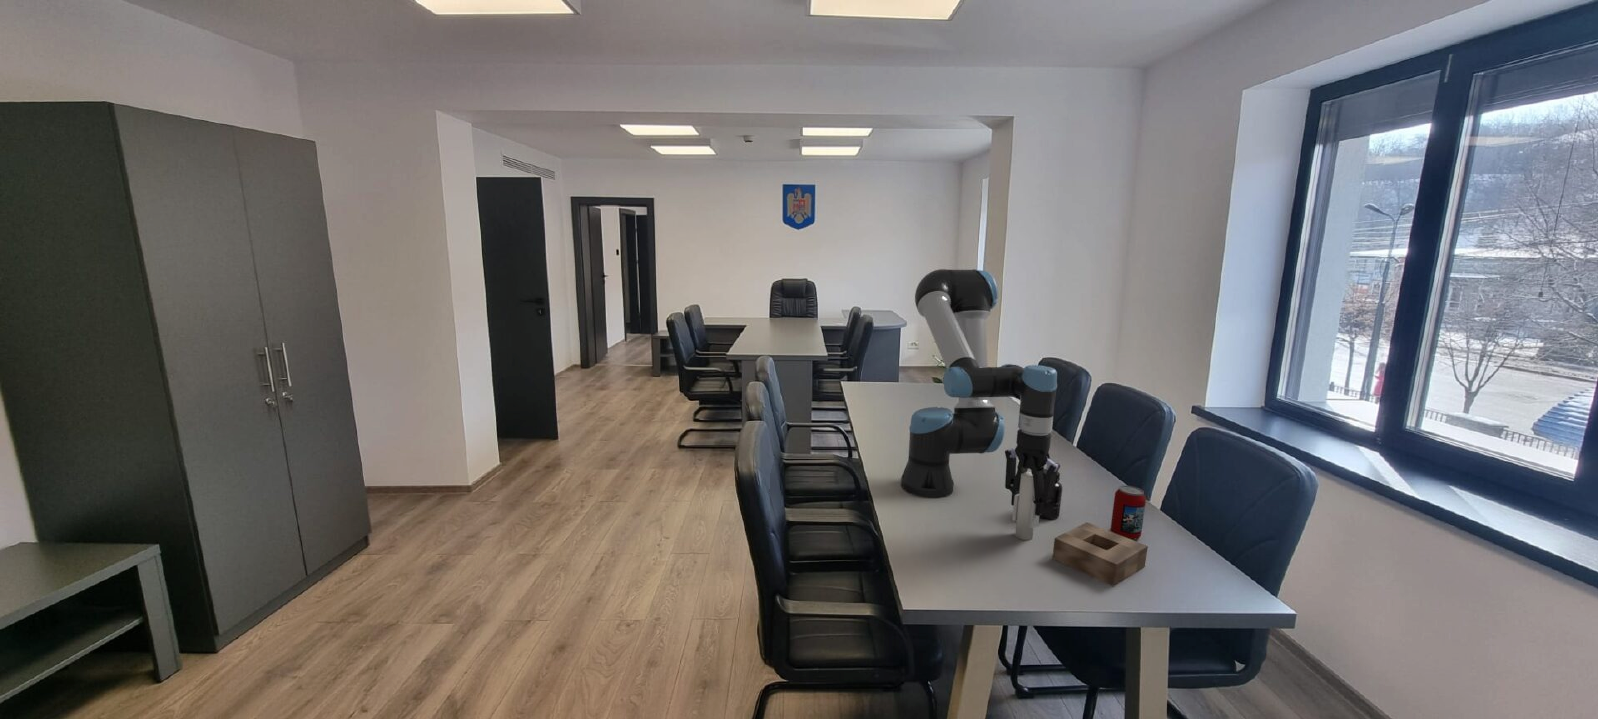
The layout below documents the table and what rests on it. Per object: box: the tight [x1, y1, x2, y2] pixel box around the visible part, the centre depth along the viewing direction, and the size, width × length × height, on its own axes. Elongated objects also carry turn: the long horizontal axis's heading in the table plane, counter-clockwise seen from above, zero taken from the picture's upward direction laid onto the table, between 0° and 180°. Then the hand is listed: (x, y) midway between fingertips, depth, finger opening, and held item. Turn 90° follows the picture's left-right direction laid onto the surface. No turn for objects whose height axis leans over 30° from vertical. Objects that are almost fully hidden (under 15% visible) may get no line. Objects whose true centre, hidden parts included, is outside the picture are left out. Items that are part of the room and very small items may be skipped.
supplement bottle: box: [1039, 468, 1063, 520], centre depth 159 cm, size 7×7×12 cm
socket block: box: [1052, 522, 1149, 587], centre depth 136 cm, size 14×14×5 cm
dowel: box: [1014, 471, 1035, 541], centre depth 147 cm, size 4×4×16 cm
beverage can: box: [1110, 485, 1147, 540], centre depth 149 cm, size 7×7×12 cm
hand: (1025, 522), depth 147 cm, fingers closed on dowel, 4 cm apart
